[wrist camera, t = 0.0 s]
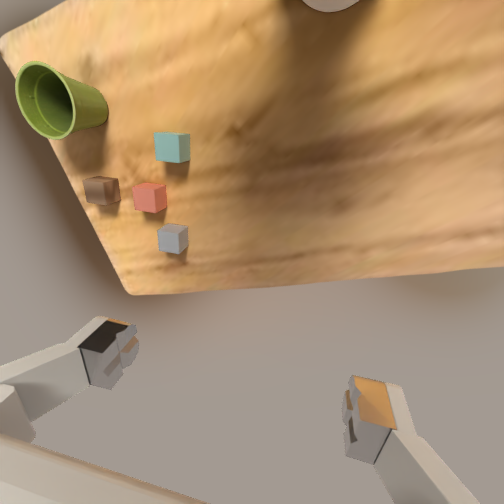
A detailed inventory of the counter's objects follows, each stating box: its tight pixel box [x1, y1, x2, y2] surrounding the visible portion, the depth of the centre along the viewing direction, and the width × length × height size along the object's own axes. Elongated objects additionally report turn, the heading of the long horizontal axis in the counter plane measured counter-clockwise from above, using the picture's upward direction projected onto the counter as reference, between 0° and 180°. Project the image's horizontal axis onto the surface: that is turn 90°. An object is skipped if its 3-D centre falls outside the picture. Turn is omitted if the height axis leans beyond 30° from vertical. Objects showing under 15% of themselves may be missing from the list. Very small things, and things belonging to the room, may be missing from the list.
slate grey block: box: [157, 223, 188, 254], centre depth 63 cm, size 5×5×5 cm
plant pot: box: [15, 61, 108, 140], centre depth 51 cm, size 12×12×11 cm
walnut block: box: [83, 176, 121, 205], centre depth 62 cm, size 5×5×5 cm
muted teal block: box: [154, 132, 190, 163], centre depth 54 cm, size 5×5×5 cm
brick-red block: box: [132, 182, 167, 213], centre depth 60 cm, size 5×5×5 cm
